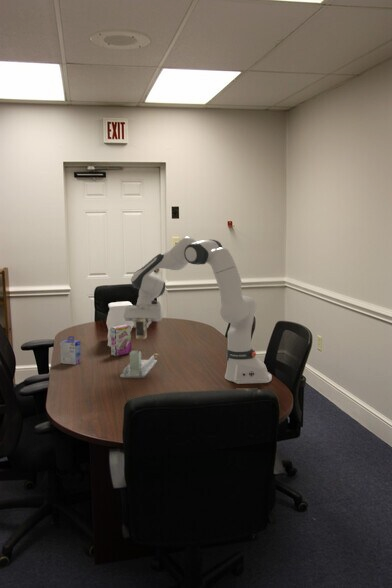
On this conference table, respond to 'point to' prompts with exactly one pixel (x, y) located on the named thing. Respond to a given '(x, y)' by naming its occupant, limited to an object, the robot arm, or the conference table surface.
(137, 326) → the wooden block
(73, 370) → the conference table surface
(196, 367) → the conference table surface
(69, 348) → the ink cartridge box
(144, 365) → the rail
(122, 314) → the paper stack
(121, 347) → the candy bar box
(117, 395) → the conference table surface
